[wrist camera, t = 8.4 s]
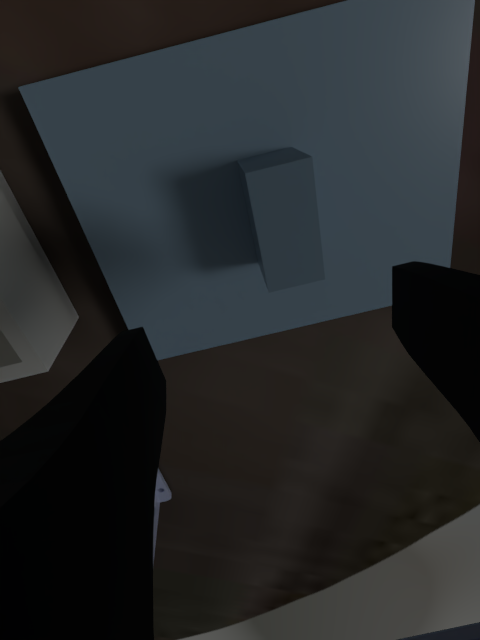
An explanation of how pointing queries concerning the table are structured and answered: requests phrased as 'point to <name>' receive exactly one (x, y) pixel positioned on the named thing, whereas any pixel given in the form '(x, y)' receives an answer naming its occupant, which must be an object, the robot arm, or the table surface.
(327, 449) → the table surface
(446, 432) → the table surface
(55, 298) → the parts tub
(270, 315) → the snap lid
